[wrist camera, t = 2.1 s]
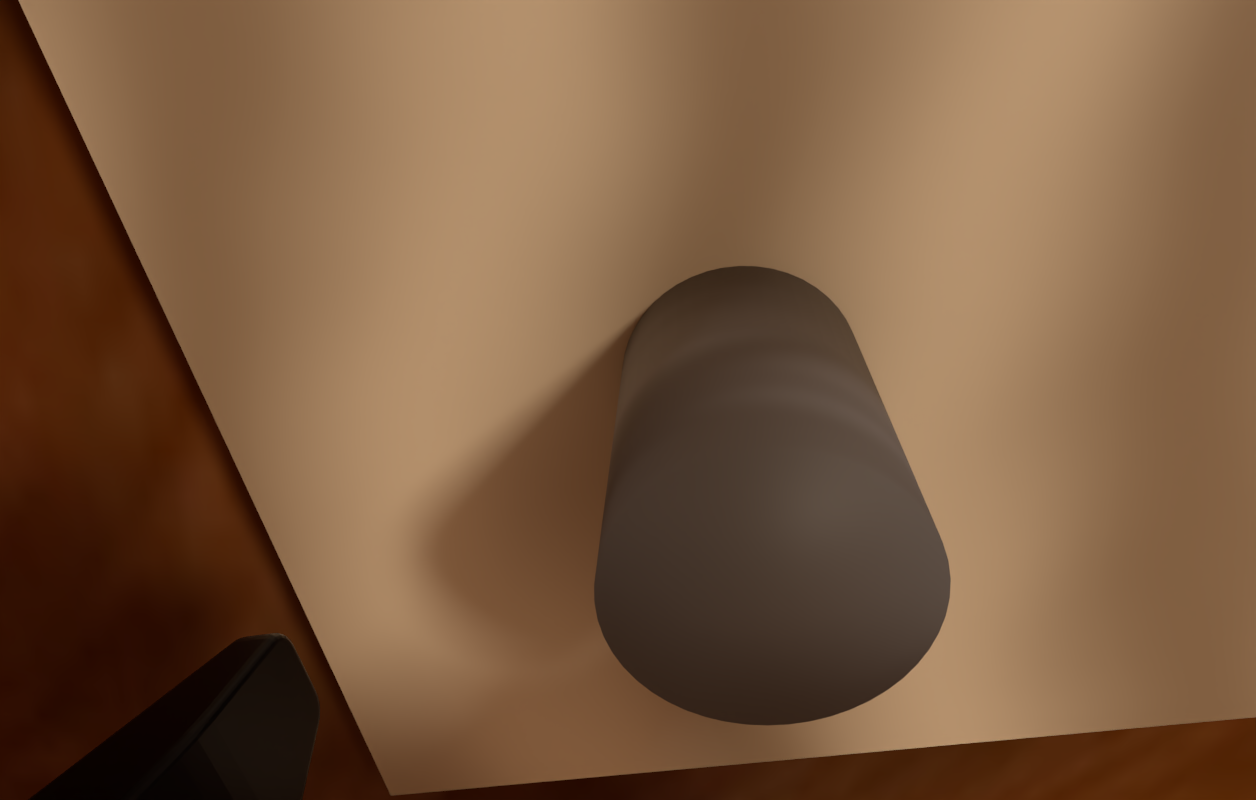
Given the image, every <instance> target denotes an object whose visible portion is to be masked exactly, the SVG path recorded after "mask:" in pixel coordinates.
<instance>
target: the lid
mask: <svg viewBox="0 0 1256 800" xmlns="http://www.w3.org/2000/svg"><path fill="white" fill-rule="evenodd" d="M18 1H19V3H20V5H21V7H22V9H23V11H24V14H25V16H26V18H27V20H28V22H29V24H30V26H31V28H32V31H33V33H34V35H35V37H36V39H37V41H38V43H39V46H40V48H41V50H42V52H43V54H44V56H45V58H46V61H47V63H48V65H49V67H50V69H51V71H52V73H53V75H54V78H55V80H56V82H57V84H58V86H59V88H60V90H61V93H62V95H63V97H64V99H65V101H66V103H67V105H68V108H69V110H70V112H71V114H72V116H73V118H74V120H75V122H76V125H77V127H78V129H79V131H80V133H81V135H82V137H83V140H84V142H85V144H86V146H87V148H88V150H89V152H90V154H91V157H92V159H93V161H94V163H95V165H96V167H97V169H98V172H99V174H100V176H101V178H102V180H103V182H104V184H105V187H106V189H107V191H108V193H109V195H110V197H111V199H112V201H113V204H114V206H115V208H116V210H117V212H118V214H119V216H120V219H121V221H122V223H123V225H124V227H125V229H126V231H127V233H128V236H129V238H130V240H131V242H132V244H133V246H134V248H135V251H136V253H137V255H138V257H139V259H140V261H141V263H142V266H143V268H144V270H145V272H146V274H147V276H148V278H149V280H150V283H151V285H152V287H153V289H154V291H155V293H156V295H157V298H158V300H159V302H160V304H161V306H162V308H163V310H164V313H165V315H166V317H167V319H168V321H169V323H170V325H171V327H172V330H173V332H174V334H175V336H176V338H177V340H178V342H179V345H180V347H181V349H182V351H183V353H184V355H185V357H186V359H187V362H188V364H189V366H190V368H191V370H192V372H193V374H194V377H195V379H196V381H197V383H198V385H199V387H200V389H201V392H202V394H203V396H204V398H205V400H206V402H207V404H208V406H209V409H210V411H211V413H212V415H213V417H214V419H215V421H216V424H217V426H218V428H219V430H220V432H221V434H222V436H223V438H224V441H225V443H226V445H227V447H228V449H229V451H230V453H231V456H232V458H233V460H234V462H235V464H236V466H237V468H238V471H239V473H240V475H241V477H242V479H243V481H244V483H245V485H246V488H247V490H248V492H249V494H250V496H251V498H252V500H253V503H254V505H255V507H256V509H257V511H258V513H259V515H260V517H261V520H262V522H263V524H264V526H265V528H266V530H267V532H268V535H269V537H270V539H271V541H272V543H273V545H274V547H275V550H276V552H277V554H278V556H279V558H280V560H281V562H282V564H283V567H284V569H285V571H286V573H287V575H288V577H289V579H290V582H291V584H292V586H293V588H294V590H295V592H296V594H297V597H298V599H299V601H300V603H301V605H302V607H303V609H304V611H305V614H306V616H307V618H308V620H309V622H310V624H311V626H312V629H313V631H314V633H315V635H316V637H317V639H318V641H319V643H320V646H321V648H322V650H323V652H324V654H325V656H326V658H327V661H328V663H329V665H330V667H331V669H332V671H333V673H334V676H335V678H336V680H337V682H338V684H339V686H340V688H341V690H342V693H343V695H344V697H345V699H346V701H347V703H348V705H349V708H350V710H351V712H352V714H353V716H354V718H355V720H356V722H357V725H358V727H359V729H360V731H361V733H362V735H363V737H364V740H365V742H366V744H367V746H368V748H369V750H370V752H371V755H372V757H373V759H374V761H375V763H376V765H377V767H378V769H379V772H380V774H381V776H382V778H383V780H384V782H385V784H386V787H387V789H388V791H389V793H390V795H391V796H393V795H404V794H415V793H426V792H437V791H448V790H459V789H470V788H481V787H492V786H503V785H514V784H525V783H536V782H547V781H558V780H569V779H580V778H591V777H602V776H613V775H624V774H635V773H646V772H657V771H668V770H679V769H690V768H701V767H712V766H723V765H734V764H745V763H756V762H767V761H778V760H789V759H800V758H811V757H822V756H833V755H844V754H855V753H866V752H877V751H888V750H899V749H910V748H921V747H932V746H943V745H954V744H965V743H976V742H987V741H998V740H1009V739H1020V738H1031V737H1042V736H1053V735H1064V734H1075V733H1086V732H1097V731H1108V730H1119V729H1130V728H1141V727H1152V726H1163V725H1174V724H1185V723H1196V722H1207V721H1218V720H1229V719H1240V718H1251V717H1256V0H18Z"/></svg>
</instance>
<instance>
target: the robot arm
mask: <svg viewBox="0 0 1256 800" xmlns="http://www.w3.org/2000/svg"><path fill="white" fill-rule="evenodd" d="M319 719H320V704H319V699H318V695H317V693H316V690H315V688H314V686H313V684H312V682H311V680H310V678H309V676H308V674H307V672H306V670H305V668H304V666H303V664H302V662H301V660H300V658H299V656H298V654H297V652H296V650H295V647H294V645H293V644H292V642H291V641H290V639H288V638H287V637H286V636H285V635H283V634H279V633H272V634H264V635H255V636H247V637H243V638H240V639H238V640H236V641H234V642H233V643H232V644H230V645H229V646H228V647H226V648H225V649H224V650H223V651H221V652H220V653H219V654H217V655H216V656H215V657H213V658H212V659H211V660H210V661H208V662H207V663H206V664H204V665H203V666H202V667H200V668H199V669H198V670H197V671H195V672H194V673H193V674H191V675H190V676H189V677H187V678H186V679H185V680H183V681H182V682H181V683H180V684H178V685H177V686H176V687H174V688H173V689H172V690H170V691H169V692H168V693H167V694H165V695H164V696H163V697H161V698H160V699H159V700H157V701H156V702H155V703H154V704H152V705H151V706H150V707H148V708H147V709H146V710H144V711H143V712H142V713H141V714H139V715H138V716H137V717H135V718H134V719H133V720H131V721H130V722H129V723H127V724H126V725H125V726H124V727H122V728H121V729H120V730H118V731H117V732H116V733H114V734H113V735H112V736H111V737H109V738H108V739H107V740H105V741H104V742H103V743H101V744H100V745H99V746H98V747H96V748H95V749H94V750H92V751H91V752H90V753H88V754H87V755H86V756H85V757H83V758H82V759H81V760H79V761H78V762H77V763H75V764H74V765H73V766H71V767H70V768H69V769H68V770H66V771H65V772H64V773H62V774H61V775H60V776H58V777H57V778H56V779H55V780H53V781H52V782H51V783H49V784H48V785H47V786H45V787H44V788H43V789H42V790H40V791H39V792H38V793H36V794H35V795H34V796H32V797H31V798H30V799H28V800H302V798H303V793H304V789H305V784H306V780H307V775H308V771H309V766H310V762H311V757H312V753H313V748H314V744H315V739H316V734H317V730H318V725H319Z"/></svg>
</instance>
